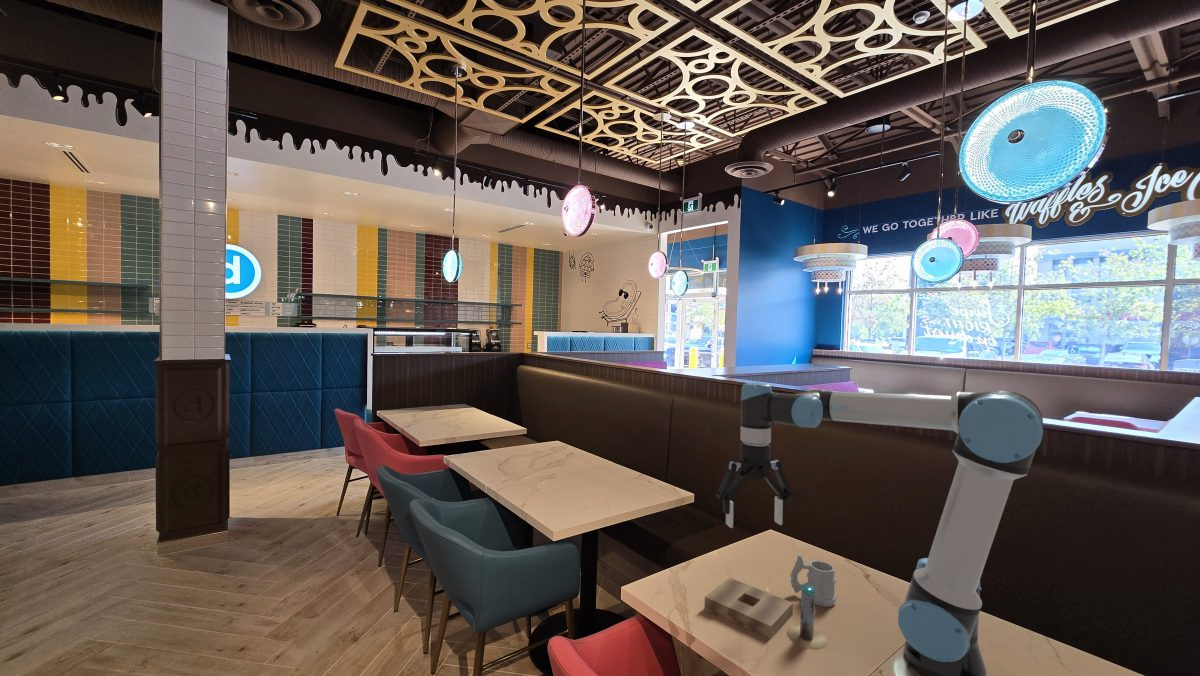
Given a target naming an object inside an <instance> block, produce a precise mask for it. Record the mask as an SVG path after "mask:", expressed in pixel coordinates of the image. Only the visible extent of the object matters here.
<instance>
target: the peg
mask: <svg viewBox="0 0 1200 676" xmlns="http://www.w3.org/2000/svg"><path fill="white" fill-rule="evenodd" d="M800 600H801V601H800V620H799V621H800V624H799V626H800V637H801V638H802V639H804V640H806V641H812V640H813V631H814V630H815V628H814V627H815V625H814V624H815V607H816V606H815V605H816V604H815V588H814V587H812V586H809V585H803V586H802V590H801V596H800Z"/></svg>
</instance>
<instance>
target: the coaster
mask: <svg viewBox="0 0 1200 676" xmlns="http://www.w3.org/2000/svg"><path fill="white" fill-rule="evenodd" d="M786 635H787V638H788V639H789V640H791V642H792V643H794V644H796V645H797V646H800V647H802V648H805V649H808V650H822V649H823V648H825V647H826V646H827V644H828V642H827V639H826V637H825V635H823V633H821V632H820V631H818V630H817V629H814V631H813V640H812V641H806V640H804V639H802V638H801V637H800V625H792V626H790V627H788V628H787V629H786Z"/></svg>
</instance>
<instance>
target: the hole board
mask: <svg viewBox="0 0 1200 676" xmlns="http://www.w3.org/2000/svg"><path fill="white" fill-rule="evenodd" d="M793 610H794V602H792V601H790V600H787V599H785V598H781V597H779V596H777V595H774V594H772V593H769V592H767V591H764V590H762V589H760V588H757V587H754V586H751V585H749V584H747V583H744V582H742V581H740V580H737V579H734V578H733V577H729V578H728V579H726V580H725V581H724V582H722V583H721V584H719V586H717V587H715V588H714V589H713V590H711V592H709V593H708V594H707V595H705V597H704V611H705V612H709V613H711V614H712V615H715V616H720V617H722V618H723V619H727V620H728V621H731V622H732V623H735V624H738V625H739V626H741V627H744V628H746V629H747V630H750V631H751V632H755V633H756V634H758V635H761V636H764V637H765V638H767V639H770V640H772V639H773V637H774V636H775V635H776V634H777V633H778V631H780V630H781V628H782V627H783V626H784V625H785V624H786V623H787V621H788V620H790V618H791V617H792V616H793V615H794V614H793V613H794V611H793Z"/></svg>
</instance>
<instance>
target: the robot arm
mask: <svg viewBox="0 0 1200 676" xmlns="http://www.w3.org/2000/svg"><path fill="white" fill-rule="evenodd" d="M772 388H773V387H772V385H771V384H769V383H765V382H764V383H763V382H746V383H744V384H742V386H741V394H740V400H739V401H740V441H741V442H740V443H739V445H740V446H739V447H740V449H739V450H740V451H739V455H740V456H739V457H740V460H739V462H734V461H732V460H729V461H728V463H727V469H726V472H725V474H724V476H723V478H722V479H721V480H722V481H721V482H720V484H719V486H718V489H717V491H716V493H715V496H716V497H717V498H718V499H719V500H721V501H722V511H723V513H724V514H725V525H726V526H728V527H729V528H730V529H733V528H734V501H732V499H733V498H734V497H735V496H736V494H737V493H738V492H739V490H740V489H741V488H742V487H743V486H744V485H745V483H747V482H748V481H749V480H751V481H754V480H763V479H764V480H765V481H766V483H767V484H768V485H769V486H770V487H771V489H772V490H773V491H774V493H776V495H777V496H774V510H773V511H774V516H773V517H774V523H776V524H778V525H779V526H783V516H784V515H783V513H784V512H785V511H786V501H788V500H789V497H793V496H794V493H793V490H792V488H791V487H790V484H789V481H788V479H787V478H786V475H785V473H784V471H783V463H782V462H781V461H779V460H778V459H773V460H771V453H772V452H771V450H772V449H771V448H772V447H771V445H770V444H771V442H772V423H773V424H774V423H775V424H781V425H782V424H783V425H789V426H793V427H794V426H796V427H800V428H817V427H819V425H820V424H821V422H822V421H831V422H835V421H836V422H846V423H847V422H848V423H858V424H859V423H860V424H868V425H869V424H871V425H883V426H894V427H895V426H896V427H897V426H898V427H909V428H918V429H919V428H920V429H921V428H922V429H931V430H932V429H933V430H944V431H952V432H955V433H956V434H957V435H956V439H955V442H954V445H953V447H952V453H953V455H954V456H955V458H956V459H957V460H958V464H957V467H956V470H955V474H954V476H953V479H952V483H951V486H950V488H949V492H948V495H947V497H946V501H945V505H944V507H943V511H942V514H941V516H940V520H939V523H938V526H937V530H936V533H935V536H934V538H933V541H932V545H931V548H930V551H929V554H928V557H924V558H923V557H922V558H919V559H918V561H917V565H916V567H915V570H914V572H913V574H912V578H911V580H910V584H909V586H908V590H907V592H906V597H905V599H904V601H903V603H902V605H900V607H899V608H898V617H897V623H898V627H899V630H900V633H901V634H902V636H903V637H904V638H905V641H904V645H903V654H904V655H903V656H904V657H905V659H906V661H907V662H908V665H910V666H911V667H912V668H913V669H914V670H915V671H916V672H918V673H920V674H921V675H922V676H987V668H986V666H985V661H984V659H983V655H982V652H981V649H980V646H979V643H978V641H979V640H978V639H979V622H980V621H979V617H980V612H981V609H982V606H983V601H982V599H981V597H980V595H981V591H982V587H981V577H982V574H983V571H984V568H985V565H986V562H987V559H988V557H989V554H990V551H991V547H992V545H993V542H994V539H995V537H996V533H997V530H998V527H999V524H1000V522H1001V519H1002V516H1003V513H1004V510H1005V506H1006V504H1007V500H1008V499H1009V495H1010V492H1011V490H1012V486H1013V483H1014V481H1015V480H1017V479H1020V478H1024V477H1027V475H1028V473H1029V471H1030V467H1031V464H1032V461H1033V459H1034V456H1035V453H1036V451H1037V448H1039V446H1040V445H1041V443H1042V439H1043V437H1044V436H1043V435H1044V427H1043V426H1044V419H1043V414H1042V412H1041V410H1040V408H1039V407H1038V406H1037V404H1036V403H1035V402H1034V401H1032V399H1030V398H1029V397H1027V396H1025V395H1024V394H1021V393H1019V392H1015V391H1012V390H1004V389H1003V390H1002V389H999V390H988V391H958V392H956V393H955V394H953V395H933V394H930V395H929V394H910V393H909V394H907V393H906V394H905V393H902V394H901V393H882V392H881V393H879V392H855V391H829V390H828V391H827V390H823V389H811V390H808V391H804V392H800V393H799V392H798V393H794V394H792V393H791V394H790V393H778V392H773V390H772ZM739 469H740V471H739ZM771 469H773V471H774V474H775V475H776V478H777V480H778V482H779V484H780V486H781V487H780V486H779V484H777V482H776V481H775V480H774V478H773V476H772V475H771V473H769V471H770V470H771ZM738 471H739V472H738ZM737 472H738V474H737V477H736V476H735V475H736V473H737ZM735 477H736V478H735ZM734 478H735V479H734Z"/></svg>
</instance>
